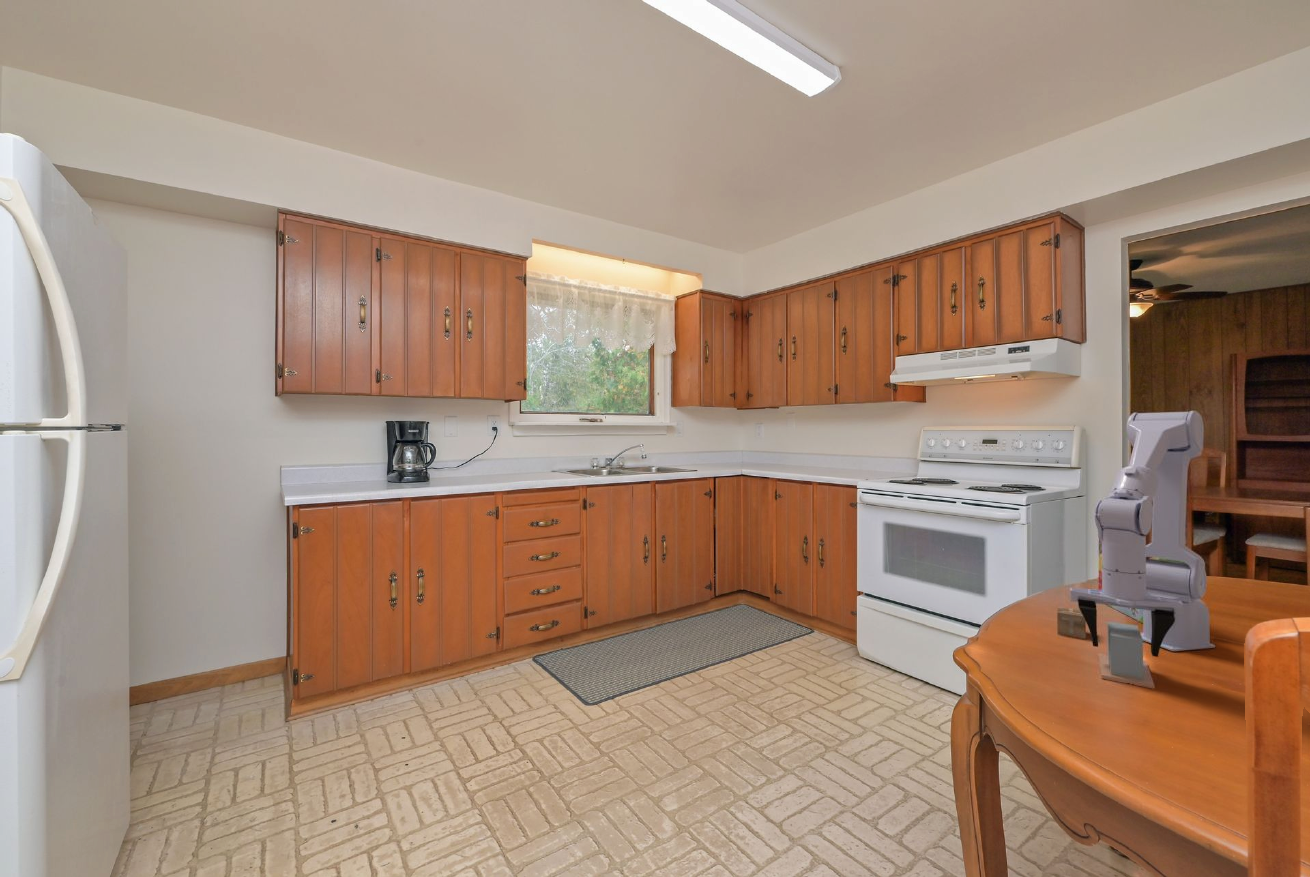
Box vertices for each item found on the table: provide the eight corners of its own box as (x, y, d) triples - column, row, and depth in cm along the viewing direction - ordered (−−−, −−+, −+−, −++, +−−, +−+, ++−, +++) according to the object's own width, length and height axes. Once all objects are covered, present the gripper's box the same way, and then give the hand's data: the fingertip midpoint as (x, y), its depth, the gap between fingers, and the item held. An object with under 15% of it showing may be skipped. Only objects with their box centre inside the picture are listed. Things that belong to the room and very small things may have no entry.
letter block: (1057, 627, 115) (1057, 605, 115) (1085, 632, 112) (1084, 609, 112) (1057, 634, 111) (1057, 611, 111) (1085, 639, 109) (1085, 616, 109)
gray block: (1111, 674, 92) (1110, 635, 92) (1107, 657, 98) (1107, 621, 98) (1143, 680, 89) (1142, 640, 89) (1137, 663, 96) (1137, 625, 96)
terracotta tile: (1098, 656, 100) (1098, 652, 100) (1145, 664, 97) (1145, 660, 97) (1101, 678, 92) (1101, 674, 92) (1154, 688, 88) (1154, 684, 88)
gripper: (1070, 568, 95) (1071, 647, 95) (1186, 581, 86) (1187, 667, 87) (1069, 560, 101) (1070, 635, 101) (1178, 571, 92) (1179, 652, 92)
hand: (1124, 649), depth 94 cm, fingers open, 7 cm apart
